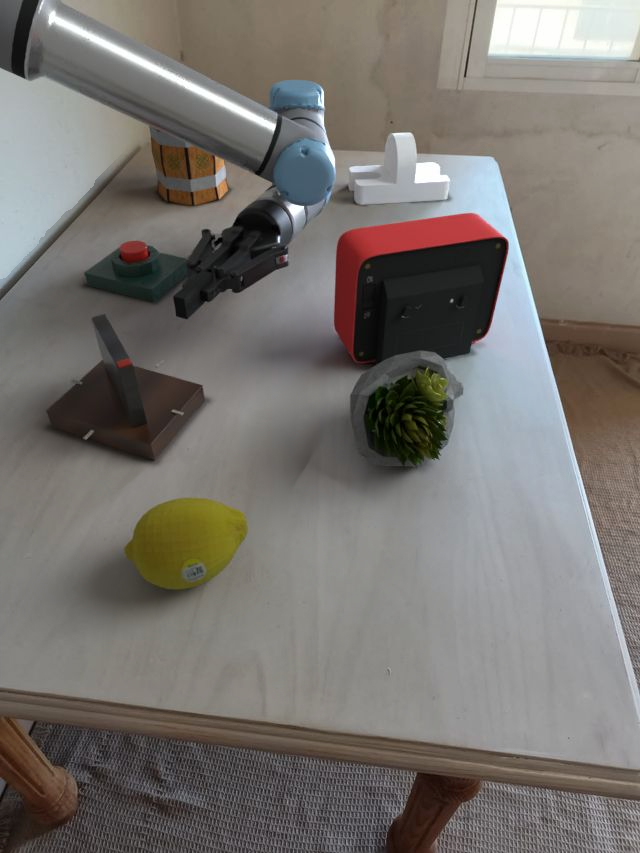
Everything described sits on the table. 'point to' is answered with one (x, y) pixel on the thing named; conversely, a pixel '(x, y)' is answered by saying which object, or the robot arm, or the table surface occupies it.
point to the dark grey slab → (119, 370)
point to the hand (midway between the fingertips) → (180, 307)
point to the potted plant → (404, 409)
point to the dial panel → (107, 420)
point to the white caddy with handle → (398, 176)
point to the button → (134, 251)
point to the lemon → (185, 542)
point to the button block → (137, 274)
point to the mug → (186, 171)
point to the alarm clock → (417, 286)
